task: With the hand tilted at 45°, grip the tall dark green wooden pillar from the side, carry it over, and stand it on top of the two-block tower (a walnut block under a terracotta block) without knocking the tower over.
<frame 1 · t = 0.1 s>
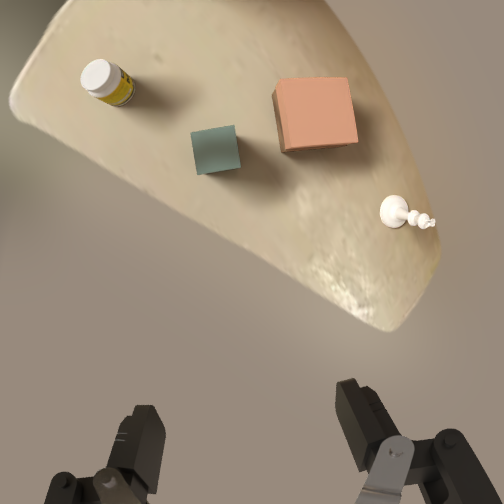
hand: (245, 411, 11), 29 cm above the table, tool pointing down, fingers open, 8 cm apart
walnut base block: (305, 120, 36), on the table, touching terracotta top block
chess piece: (392, 211, 40), on the table
supplement bottle: (120, 91, 32), on the table
terracotta top block: (312, 115, 32), point 3 cm above the table, touching walnut base block
green pillar block: (218, 153, 36), on the table
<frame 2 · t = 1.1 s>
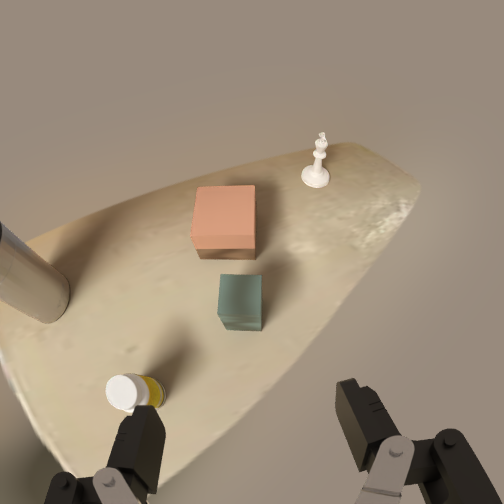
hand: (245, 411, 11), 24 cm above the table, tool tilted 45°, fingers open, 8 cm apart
walnut base block: (229, 236, 44), on the table, touching terracotta top block
chess piece: (315, 177, 49), on the table
supplement bottle: (150, 394, 33), on the table
terracotta top block: (226, 223, 41), point 3 cm above the table, touching walnut base block
green pillar block: (244, 314, 38), on the table
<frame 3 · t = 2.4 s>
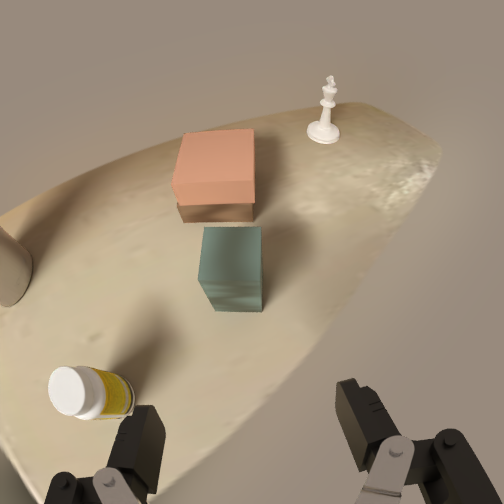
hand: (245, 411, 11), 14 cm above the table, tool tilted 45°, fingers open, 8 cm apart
walnut base block: (220, 196, 35), on the table, touching terracotta top block
chess piece: (323, 134, 40), on the table
supplement bottle: (116, 396, 24), on the table
terracotta top block: (219, 176, 32), point 3 cm above the table, touching walnut base block
green pillar block: (239, 290, 29), on the table
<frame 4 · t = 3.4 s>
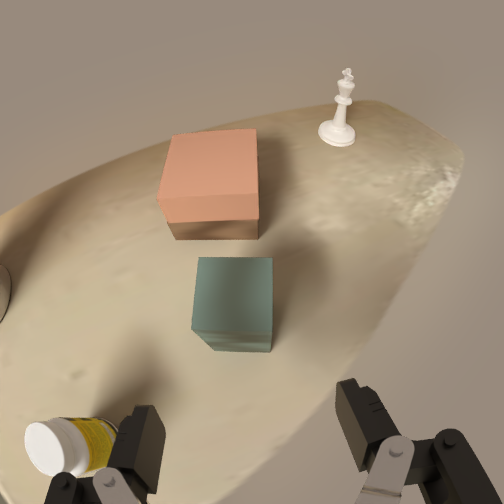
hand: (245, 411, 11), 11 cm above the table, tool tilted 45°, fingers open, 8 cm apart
walnut base block: (219, 208, 30), on the table, touching terracotta top block
chess piece: (336, 135, 35), on the table
supplement bottle: (104, 441, 19), on the table
terracotta top block: (215, 185, 27), point 3 cm above the table, touching walnut base block
green pillar block: (243, 325, 24), on the table
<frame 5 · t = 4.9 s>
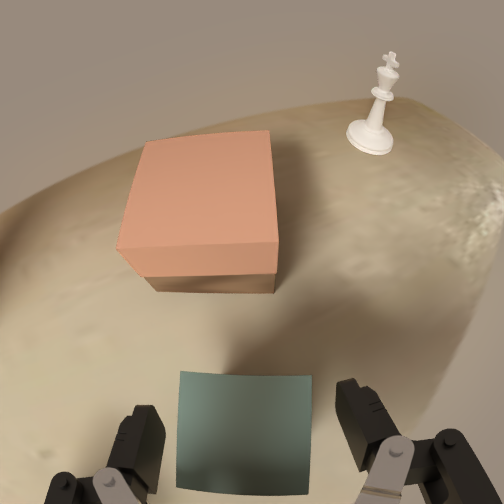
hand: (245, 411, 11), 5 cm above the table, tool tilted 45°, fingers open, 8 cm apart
walnut base block: (218, 243, 21), on the table, touching terracotta top block
chess piece: (369, 140, 26), on the table
terracotta top block: (209, 217, 18), point 3 cm above the table, touching walnut base block
green pillar block: (252, 418, 15), on the table
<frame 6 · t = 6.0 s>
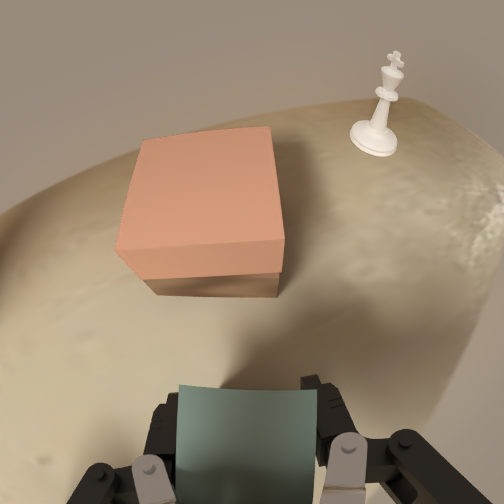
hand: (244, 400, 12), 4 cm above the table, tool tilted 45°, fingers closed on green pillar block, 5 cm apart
walnut base block: (219, 245, 21), on the table, touching terracotta top block
chess piece: (372, 141, 25), on the table
terracotta top block: (209, 216, 18), point 3 cm above the table, touching walnut base block
green pillar block: (254, 427, 15), on the table, touching gripper
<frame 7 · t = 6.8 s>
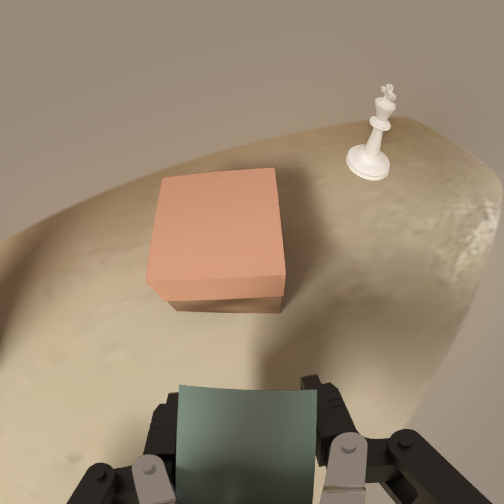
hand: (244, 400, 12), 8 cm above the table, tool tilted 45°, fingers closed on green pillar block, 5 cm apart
walnut base block: (230, 267, 24), on the table, touching terracotta top block
chess piece: (367, 165, 28), on the table
terracotta top block: (222, 246, 21), point 3 cm above the table, touching walnut base block
green pillar block: (254, 427, 15), point 3 cm above the table, touching gripper
when the fingers open (12 cm above the table, at t = 11.0 s): green pillar block drops 1 cm, point 7 cm above the table.
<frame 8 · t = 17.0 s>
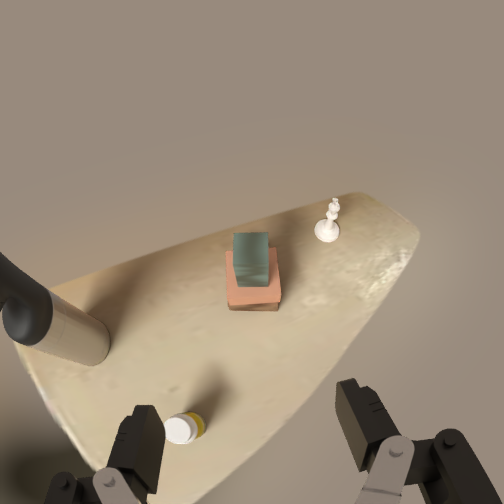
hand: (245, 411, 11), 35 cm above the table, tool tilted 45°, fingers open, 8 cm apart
walnut base block: (254, 289, 51), on the table, touching terracotta top block
chess piece: (326, 231, 56), on the table
supplement bottle: (192, 425, 40), on the table
terracotta top block: (253, 280, 48), point 3 cm above the table, touching walnut base block
green pillar block: (253, 273, 45), point 7 cm above the table
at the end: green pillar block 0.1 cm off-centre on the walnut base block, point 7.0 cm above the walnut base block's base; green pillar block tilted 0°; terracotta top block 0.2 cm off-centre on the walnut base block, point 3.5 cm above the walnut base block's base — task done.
